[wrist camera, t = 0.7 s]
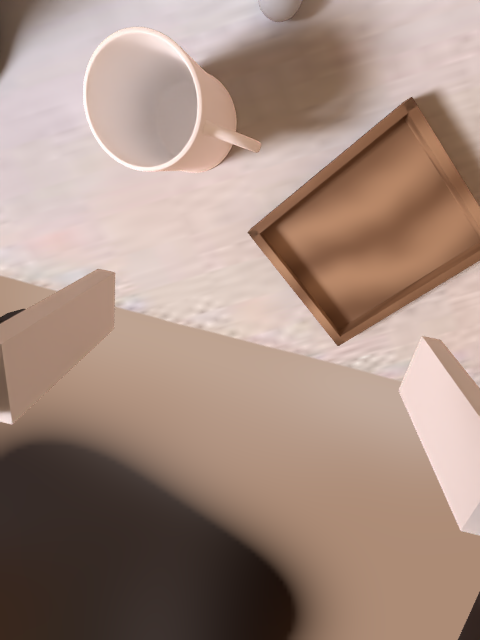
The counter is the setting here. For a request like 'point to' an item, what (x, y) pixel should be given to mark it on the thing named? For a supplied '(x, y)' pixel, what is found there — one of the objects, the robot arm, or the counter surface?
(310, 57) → the counter surface
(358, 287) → the tray
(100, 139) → the mug
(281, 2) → the ball
